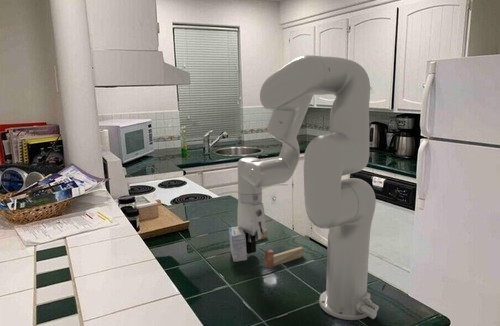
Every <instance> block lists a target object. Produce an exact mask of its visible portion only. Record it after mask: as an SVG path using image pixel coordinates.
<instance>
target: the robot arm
mask: <svg viewBox="0 0 500 326" xmlns="http://www.w3.org/2000/svg"><path fill="white" fill-rule="evenodd" d="M314 95H317V96H318V95H319V96H320V95H322V96H323V95H334V96H335V99H334V101H333V103H332V105H331V107H330V113H329V133H325V134H321V135H316V136H315V137H314V138H313V139H311V140H310V141H309V143H308V144H307V146H306V148H305V151H304V154H303V191H304V192H303V194H304V196H303V197H304V209H305V211H306V214H307V217H308V220H309V221H310V223H312V224H313V225H314V226H316V227H317V228H319V229H326V230H328V232H327V247H326V248H327V250H326V252H327V253H326V255H327V257H326V284H325V285H326V287H325V289H326V290H325V291H323V292H322V293H321V294H320V296H319V298H318V299H319V301H318V302H319V307H320V308H321V309H322V310H323V311H324V312H325V313H327V314H328V315H329V316H332V317H335V318H336V319H340V320H345V321H358V320H361V319H362V320H363V319H365V318H367V317H369V318H371V319H372V320H374V319H376V317H377V315H378V311H379V309H380V306H379V305H378V304H376V303H374V302H372V300H371V293H370V292H368V274H369V273H368V272H369V258H370V257H369V255H370V240H371V239H370V238H371V228H372V223H373V220H374V219H373V218H374V215H375V210H376V203H377V201H376V194H375V191H374V189H373V187H372V185H370V184H369V182H367V181H365V180H363V179H361V178H356V177H351V178H344V179H342V177H343V176H348V175H352V174H355V173H358V172H361V171H363V170H364V169H365V168H366V167H367V165H368V164H369V159H370V100H371V99H370V98H371V97H370V96H371V82H370V77H369V75H368V73H367V70H366V69H365V68H364V67H363V66H362V65H361V64H359V63H357V62H356V61H354V60H352V59H347V58H344V57H338V56H337V57H336V56H324V55H322V56H321V55H313V54H312V55H302V56H299V57H297V58H295V59H293V60H292V61H289V62H288V63H286V64H285V65H284V66H282V67H281V68H280V69H277V70H276V71H275V72H273V73H272V74H271V75H269V76H268V77H267V78H266V79H265V80H264V82H263V84H261V88H260V92H259V100H260V104H261V105H262V106H263V108H264V109H265V110H268V111H271V115H270V117H269V120H268V123H267V126H266V130H267V133H268V134H269V135H270V136H271V137H272V138H274V139H275V140H277V141H278V142H281V143H282V147H281V150H280V152H279V154H278V157H277V158H275V159H268V160H263V161H262V160H261V159H259V158H258V157H243V158H240V159H239V160H238V161H237V202H238V203H237V211H236V212H237V214H236V215H237V218H236V219H237V222H236V223H237V227H239V228H241V229H243V231H244V233H245V238H246V251H247V255H249V254H250V255H251V254H253V253H256V252H257V241H260V240H259V239H261V233H265V229H266V214H265V213H266V212H265V207H264V203H263V188H266V187H271V186H275V185H280V184H283V183H286V182H288V181H289V180H290V179H291V178H292V177H293V175H294V173H295V171H296V169H297V166H298V164H299V161H300V153H301V152H300V145H299V142H298V138H297V136H298V135H299V131H300V129H301V127H302V123H303V121H304V120H305V116H306V115H307V112H308V109H309V107H310V104H311V103H312V100H313V97H314ZM261 240H262V239H261Z"/></svg>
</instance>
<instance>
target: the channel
mask: <svg viewBox="0 0 500 326" xmlns="http://www.w3.org/2000/svg"><path fill="white" fill-rule="evenodd" d="M267 238H268V229H266V228H265V233H261V239H259V240H258V241H260V240H263V239H267ZM303 257H304V247H302V246H299V247H295V248H292V249H289V250H285V251H283V252H279V253H276V254H275V252H274V250H272V249H270V248H269V249H266V250H264V267H265V268H266V269H268V270H269V269H272V268H274V267H276V266H279V265H282V264H285V263H289V262H292V261H294V260H298V259H301V258H303Z"/></svg>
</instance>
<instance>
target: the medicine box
mask: <svg viewBox="0 0 500 326" xmlns="http://www.w3.org/2000/svg"><path fill="white" fill-rule="evenodd" d="M228 235H229V250H230V253H231V254H230V255H231V257H232V261H233V262H234V263H235V262H243V261H248V254H247V251H246V238H245V233H244V231H243V229H241V228H239V227H238V226H232V227H228Z"/></svg>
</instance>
